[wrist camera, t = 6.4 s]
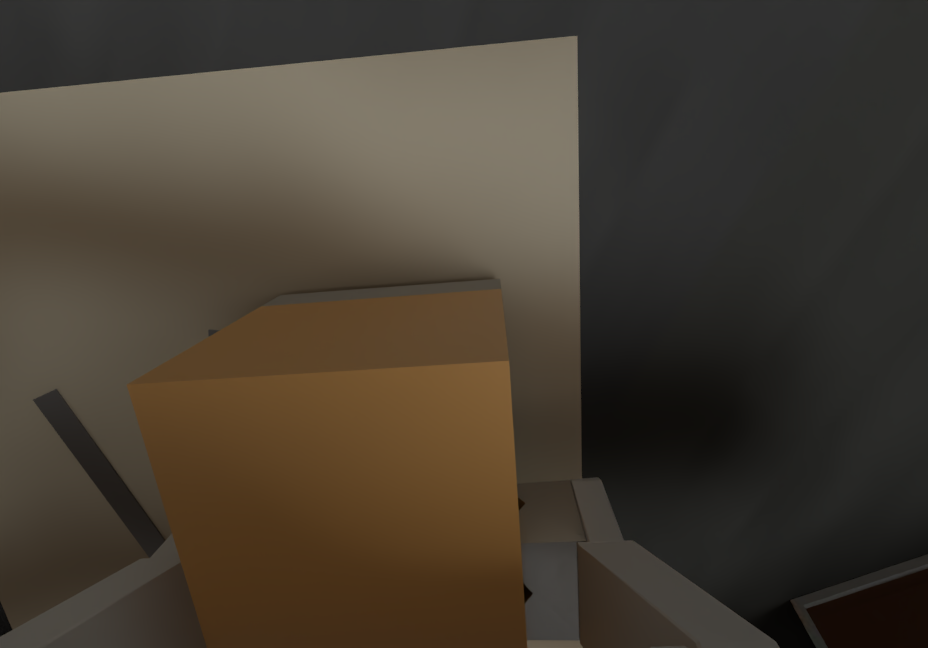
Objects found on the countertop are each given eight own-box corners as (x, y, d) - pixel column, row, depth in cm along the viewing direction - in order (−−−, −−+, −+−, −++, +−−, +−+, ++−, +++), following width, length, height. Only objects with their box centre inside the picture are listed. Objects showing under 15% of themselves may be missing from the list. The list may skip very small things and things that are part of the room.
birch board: (577, 832, 16) (586, 900, 14) (154, 825, 17) (121, 889, 15) (564, 57, 9) (577, 35, 8) (-111, 122, 10) (-212, 113, 9)
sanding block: (523, 630, 11) (541, 872, 7) (347, 634, 11) (275, 871, 7) (500, 278, 9) (509, 360, 5) (280, 294, 9) (126, 384, 5)
